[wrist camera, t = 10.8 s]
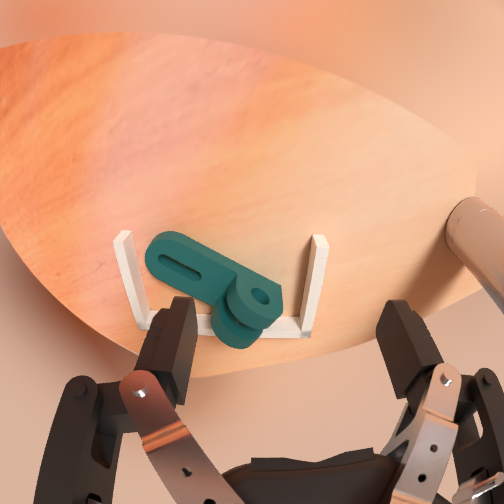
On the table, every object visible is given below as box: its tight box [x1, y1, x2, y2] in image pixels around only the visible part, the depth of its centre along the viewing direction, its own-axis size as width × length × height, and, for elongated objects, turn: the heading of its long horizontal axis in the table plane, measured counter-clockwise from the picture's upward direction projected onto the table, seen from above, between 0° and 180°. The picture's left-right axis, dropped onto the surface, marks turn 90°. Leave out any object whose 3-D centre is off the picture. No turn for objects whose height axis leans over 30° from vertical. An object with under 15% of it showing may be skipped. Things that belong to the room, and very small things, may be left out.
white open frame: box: [113, 230, 329, 338], centre depth 37 cm, size 26×16×3 cm, turn 89°
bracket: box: [145, 231, 283, 349], centre depth 34 cm, size 18×7×8 cm, turn 58°
